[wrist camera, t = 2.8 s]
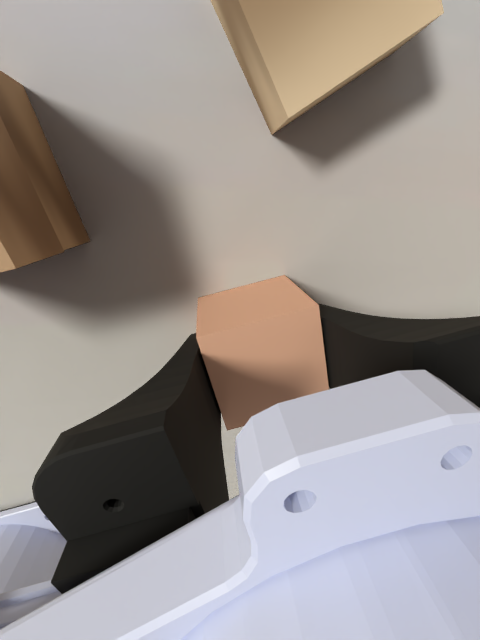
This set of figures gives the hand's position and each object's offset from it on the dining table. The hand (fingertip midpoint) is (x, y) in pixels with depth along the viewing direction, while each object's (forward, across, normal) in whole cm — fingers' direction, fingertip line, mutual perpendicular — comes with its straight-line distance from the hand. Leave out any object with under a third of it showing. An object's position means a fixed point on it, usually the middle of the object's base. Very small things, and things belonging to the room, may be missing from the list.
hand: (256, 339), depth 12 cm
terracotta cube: (+1, 0, 0) cm, 1 cm away
